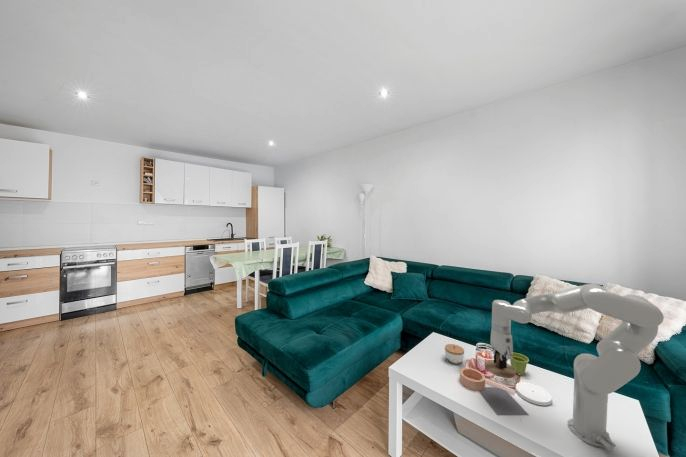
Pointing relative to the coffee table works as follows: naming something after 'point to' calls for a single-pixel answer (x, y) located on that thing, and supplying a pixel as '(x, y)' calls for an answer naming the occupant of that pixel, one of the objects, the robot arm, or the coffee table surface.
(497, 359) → the lid
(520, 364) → the plant pot
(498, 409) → the mat
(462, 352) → the lidded jar
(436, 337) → the coffee table surface
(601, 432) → the robot arm
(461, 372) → the bowl
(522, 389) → the plastic lid
